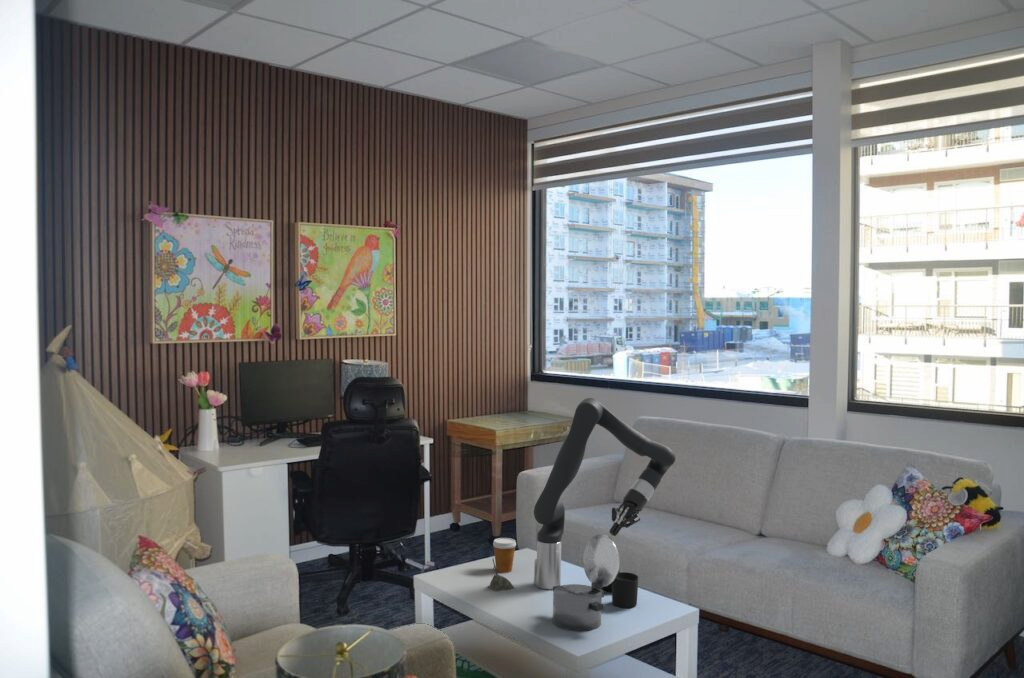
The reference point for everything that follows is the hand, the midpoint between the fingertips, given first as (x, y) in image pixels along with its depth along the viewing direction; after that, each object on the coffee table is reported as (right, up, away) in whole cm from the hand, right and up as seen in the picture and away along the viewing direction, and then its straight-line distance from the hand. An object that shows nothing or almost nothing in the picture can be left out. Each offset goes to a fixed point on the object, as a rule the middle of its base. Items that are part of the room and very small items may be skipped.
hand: (612, 534), depth 269 cm
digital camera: (+1, -28, +26) cm, 38 cm away
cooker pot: (-13, -27, -8) cm, 31 cm away
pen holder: (+6, -28, +10) cm, 30 cm away
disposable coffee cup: (-38, -27, +47) cm, 66 cm away
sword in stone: (-39, -27, +26) cm, 54 cm away
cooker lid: (-5, -8, -3) cm, 10 cm away
